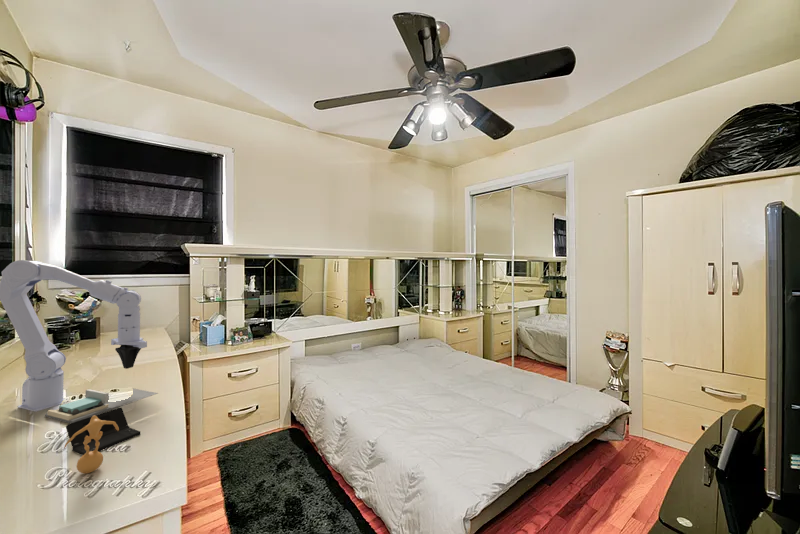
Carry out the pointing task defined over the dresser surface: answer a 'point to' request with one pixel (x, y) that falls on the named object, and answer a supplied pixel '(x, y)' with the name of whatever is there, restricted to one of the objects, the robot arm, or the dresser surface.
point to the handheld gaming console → (109, 431)
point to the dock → (97, 408)
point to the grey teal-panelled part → (86, 402)
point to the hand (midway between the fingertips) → (128, 367)
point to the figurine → (93, 458)
